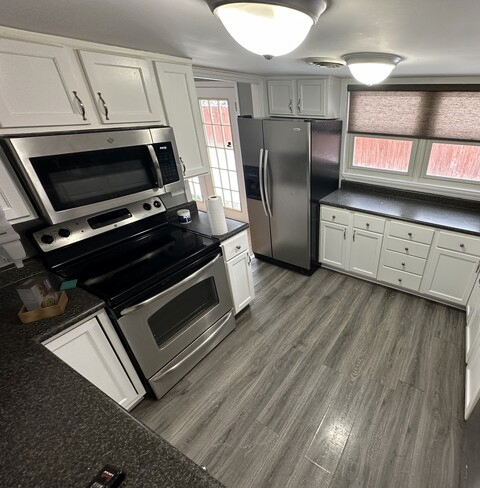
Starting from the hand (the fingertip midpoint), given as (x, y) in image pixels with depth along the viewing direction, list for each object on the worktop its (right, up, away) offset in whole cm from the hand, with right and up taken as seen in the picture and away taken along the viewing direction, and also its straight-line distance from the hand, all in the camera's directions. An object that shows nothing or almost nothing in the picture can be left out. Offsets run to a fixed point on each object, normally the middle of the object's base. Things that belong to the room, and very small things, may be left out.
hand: (14, 264), depth 108 cm
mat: (-10, -14, +34) cm, 38 cm away
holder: (-3, -23, +16) cm, 28 cm away
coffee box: (-3, -23, +16) cm, 28 cm away
